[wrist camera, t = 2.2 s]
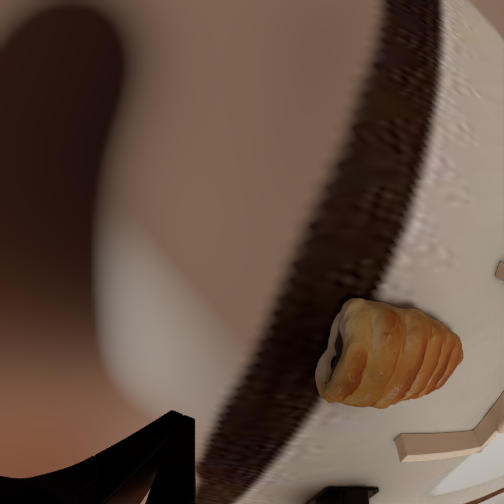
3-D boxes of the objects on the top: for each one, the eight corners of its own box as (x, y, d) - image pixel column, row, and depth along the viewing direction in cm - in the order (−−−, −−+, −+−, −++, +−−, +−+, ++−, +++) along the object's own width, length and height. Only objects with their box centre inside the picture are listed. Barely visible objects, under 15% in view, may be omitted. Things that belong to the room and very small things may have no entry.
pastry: (466, 308, 13) (497, 335, 9) (427, 389, 15) (443, 424, 11) (337, 287, 14) (349, 320, 10) (307, 382, 16) (307, 425, 12)
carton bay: (474, 436, 15) (484, 457, 11) (394, 440, 16) (402, 470, 13) (558, 295, 11) (580, 309, 7) (499, 261, 12) (531, 276, 8)
